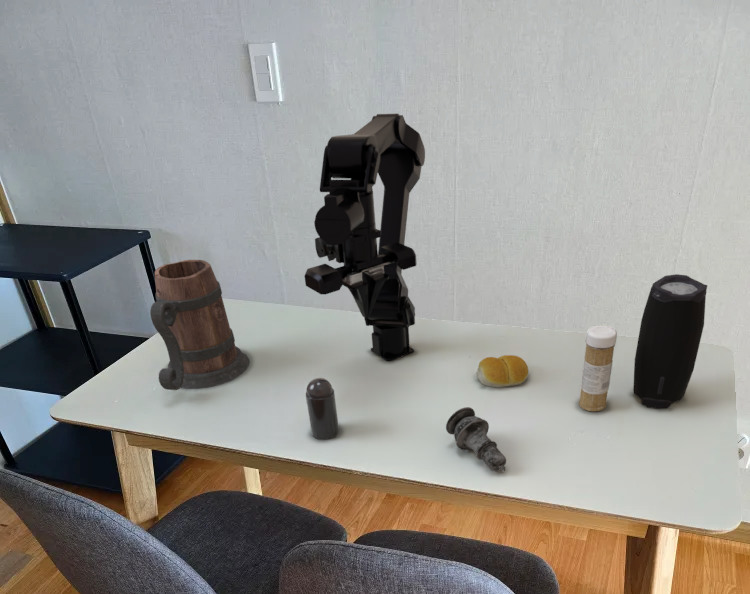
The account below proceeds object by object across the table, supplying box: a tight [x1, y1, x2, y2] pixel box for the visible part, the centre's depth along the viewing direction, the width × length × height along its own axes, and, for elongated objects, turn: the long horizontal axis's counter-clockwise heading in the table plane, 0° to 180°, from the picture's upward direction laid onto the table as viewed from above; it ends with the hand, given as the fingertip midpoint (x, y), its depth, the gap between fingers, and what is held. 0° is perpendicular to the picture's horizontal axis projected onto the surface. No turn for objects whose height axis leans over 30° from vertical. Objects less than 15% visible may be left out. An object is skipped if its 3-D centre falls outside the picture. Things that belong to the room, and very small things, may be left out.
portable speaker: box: [632, 273, 708, 410], centre depth 111 cm, size 9×9×20 cm
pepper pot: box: [305, 377, 340, 441], centre depth 113 cm, size 5×5×10 cm
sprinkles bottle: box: [578, 325, 618, 412], centre depth 112 cm, size 5×5×13 cm
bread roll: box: [476, 354, 529, 388], centre depth 125 cm, size 8×9×4 cm
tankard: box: [149, 259, 251, 391], centre depth 130 cm, size 24×17×20 cm
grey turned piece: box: [445, 406, 507, 472], centre depth 106 cm, size 6×6×12 cm
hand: (365, 316), depth 120 cm, fingers closed
